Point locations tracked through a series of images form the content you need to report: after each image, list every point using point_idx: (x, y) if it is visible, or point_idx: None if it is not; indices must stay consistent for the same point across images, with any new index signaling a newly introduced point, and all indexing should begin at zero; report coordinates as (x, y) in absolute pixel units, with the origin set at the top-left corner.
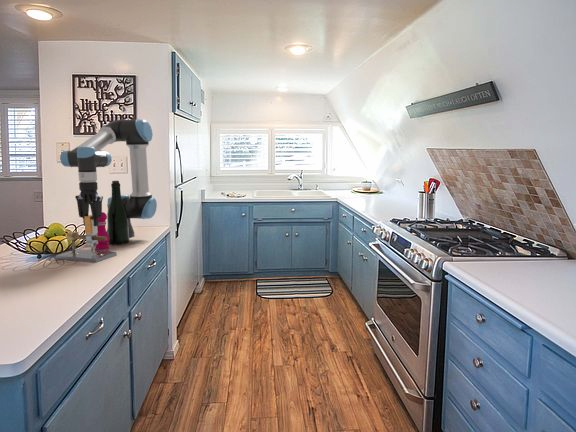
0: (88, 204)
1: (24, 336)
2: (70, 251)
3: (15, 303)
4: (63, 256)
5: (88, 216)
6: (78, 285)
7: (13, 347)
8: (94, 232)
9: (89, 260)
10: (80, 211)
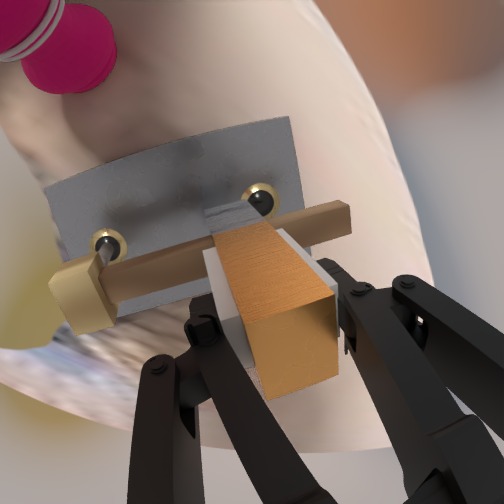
0: (316, 484)
1: None
2: (69, 243)
3: (370, 442)
4: (140, 310)
5: (319, 381)
6: None
7: None
8: None
9: None
10: (197, 450)
